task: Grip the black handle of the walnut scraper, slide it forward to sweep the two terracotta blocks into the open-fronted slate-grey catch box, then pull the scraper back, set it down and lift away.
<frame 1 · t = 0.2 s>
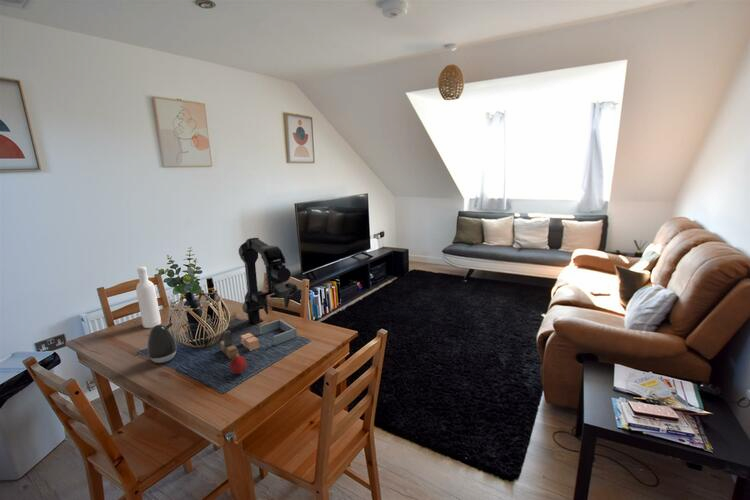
hand: (277, 310, 154), 15 cm above the table, tool pointing down, fingers open, 9 cm apart
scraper: (229, 353, 148), on the table
onion: (239, 373, 134), on the table
block 2: (253, 348, 152), on the table
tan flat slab: (221, 322, 179), on the table
bottle: (152, 325, 178), on the table
catch box: (277, 335, 163), on the table
block 1: (248, 344, 156), on the table
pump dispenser: (164, 359, 145), on the table
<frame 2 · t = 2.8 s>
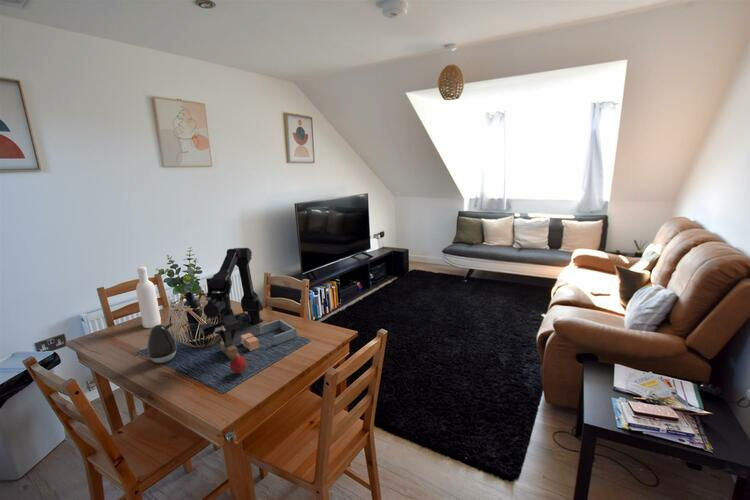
hand: (228, 342, 147), 5 cm above the table, tool pointing down, fingers closed on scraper, 3 cm apart
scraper: (229, 353, 148), on the table, touching gripper
everything else where it was.
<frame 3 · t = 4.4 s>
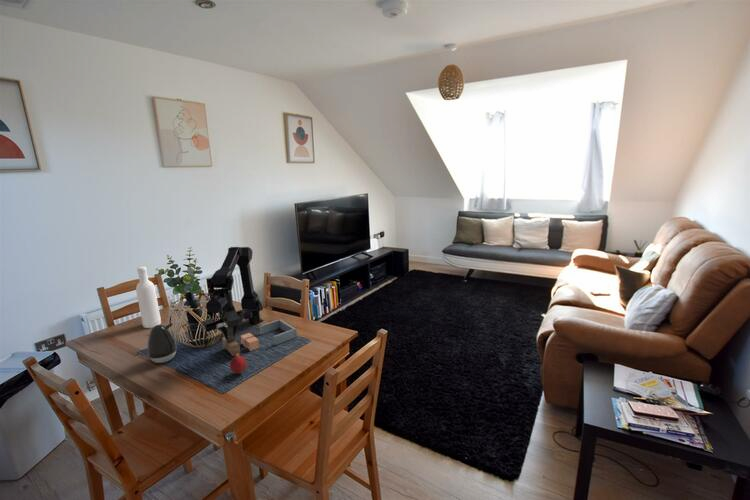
hand: (230, 338, 147), 6 cm above the table, tool pointing down, fingers closed on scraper, 2 cm apart
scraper: (231, 349, 149), point 1 cm above the table, touching gripper
everything else where it was.
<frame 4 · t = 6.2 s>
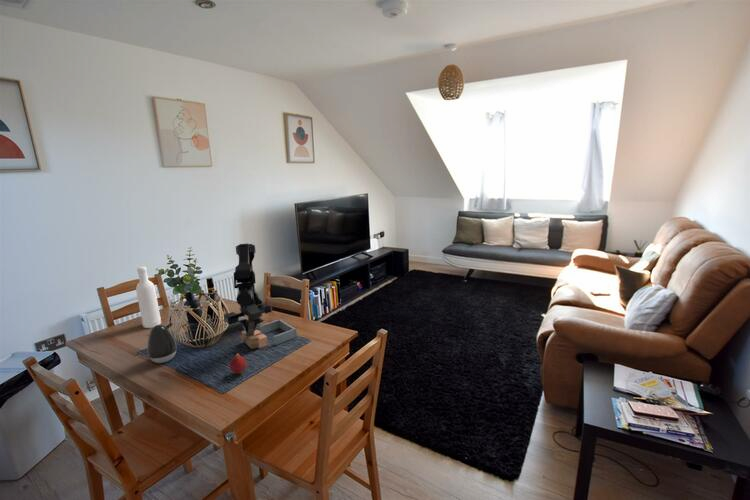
hand: (250, 331, 153), 6 cm above the table, tool pointing down, fingers closed on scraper, 3 cm apart
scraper: (249, 343, 154), point 1 cm above the table, tilted 8°, touching block 1, block 2, gripper
block 2: (261, 345, 154), on the table, touching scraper
block 1: (256, 340, 158), on the table, touching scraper
everything else where it was.
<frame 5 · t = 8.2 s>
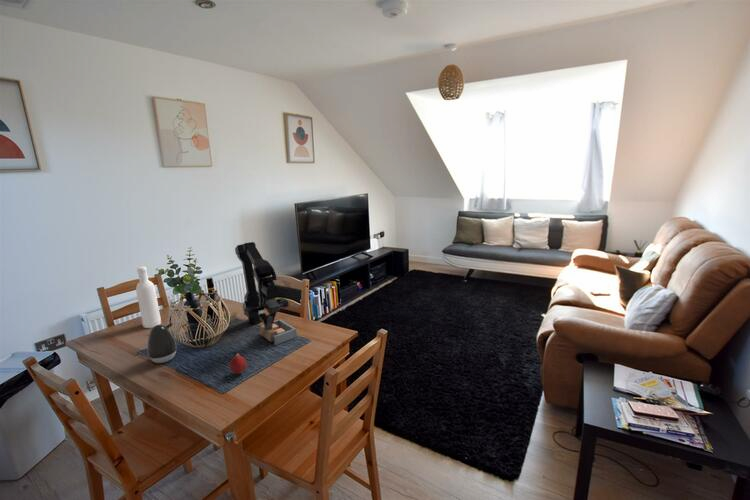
hand: (268, 325, 158), 7 cm above the table, tool pointing down, fingers closed on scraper, 3 cm apart
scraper: (268, 337, 159), point 1 cm above the table, tilted 8°, touching block 1, block 2, gripper
block 2: (279, 338, 159), on the table, touching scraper
block 1: (273, 334, 164), on the table, touching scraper
everything else where it was.
when the fingers open (6 cm above the table, at t = 10.7 s): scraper stays where it is, on the table.
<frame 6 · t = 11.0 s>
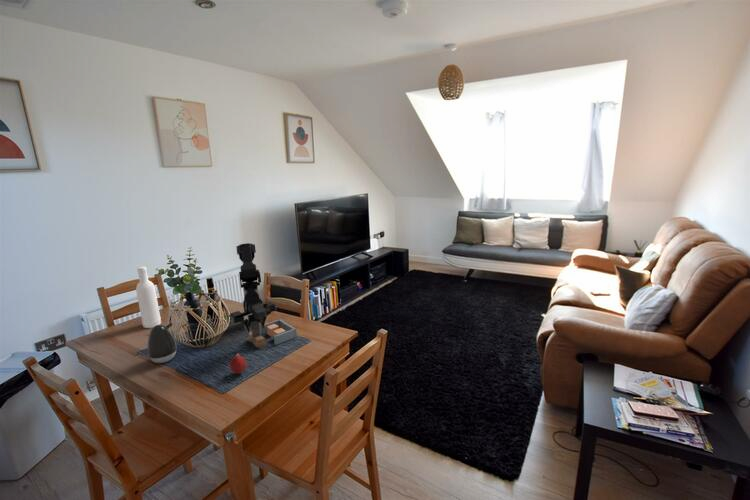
hand: (255, 330, 155), 6 cm above the table, tool pointing down, fingers open, 6 cm apart
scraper: (257, 343, 156), on the table
block 2: (280, 338, 160), on the table
block 1: (273, 334, 164), on the table
everything else where it was.
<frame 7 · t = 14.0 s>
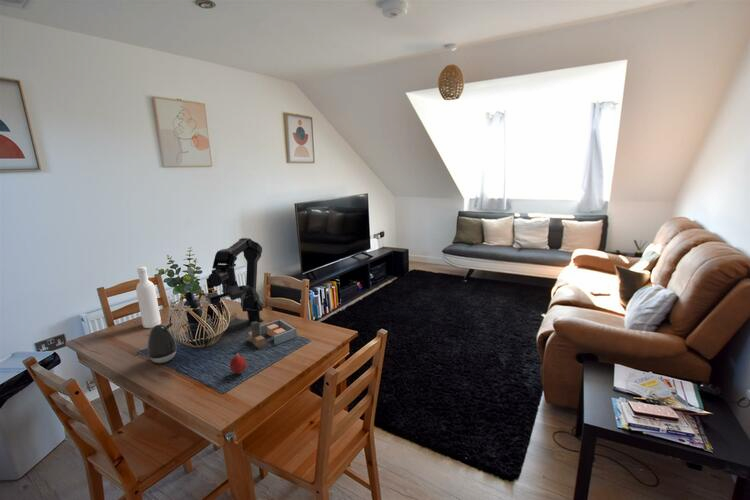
hand: (232, 312, 157), 13 cm above the table, tool pointing down, fingers open, 9 cm apart
nothing on the table moved.
at the end: block 1 inside the target area on the catch box (3.2 cm from its centre), point 0.0 cm above the catch box's base; block 2 inside the target area on the catch box (3.7 cm from its centre), point 0.0 cm above the catch box's base; the gripper is holding nothing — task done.
